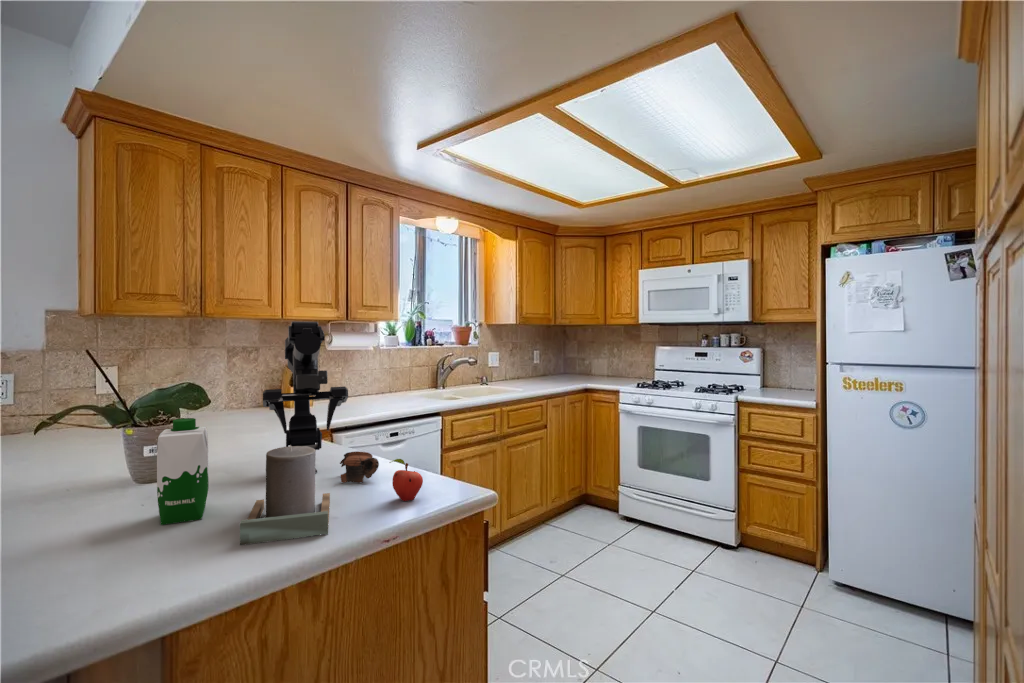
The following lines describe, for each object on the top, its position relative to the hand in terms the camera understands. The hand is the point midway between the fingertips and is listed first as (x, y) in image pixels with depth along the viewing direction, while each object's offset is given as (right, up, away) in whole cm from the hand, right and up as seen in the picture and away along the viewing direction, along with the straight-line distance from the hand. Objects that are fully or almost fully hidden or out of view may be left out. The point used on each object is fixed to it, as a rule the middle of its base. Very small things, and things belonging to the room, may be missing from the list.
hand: (307, 431), depth 115 cm
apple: (+24, -16, -2) cm, 29 cm away
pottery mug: (+8, -15, +14) cm, 22 cm away
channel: (+3, -16, -15) cm, 22 cm away
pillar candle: (+2, -16, -12) cm, 20 cm away
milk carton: (-20, -16, -13) cm, 29 cm away
